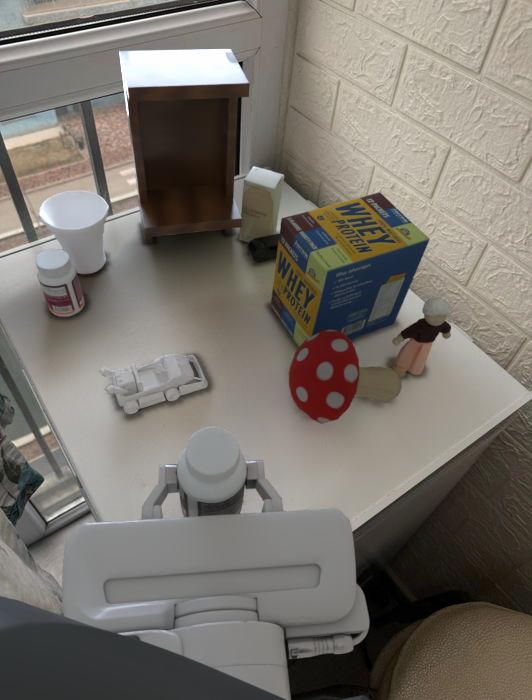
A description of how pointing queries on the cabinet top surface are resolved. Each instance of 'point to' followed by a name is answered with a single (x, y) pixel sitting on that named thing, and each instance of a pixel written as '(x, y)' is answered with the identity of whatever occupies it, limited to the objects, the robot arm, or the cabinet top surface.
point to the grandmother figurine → (422, 337)
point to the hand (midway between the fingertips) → (211, 465)
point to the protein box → (345, 267)
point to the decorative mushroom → (335, 377)
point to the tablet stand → (263, 248)
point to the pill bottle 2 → (211, 474)
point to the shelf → (184, 137)
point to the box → (260, 203)
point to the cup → (78, 227)
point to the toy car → (154, 381)
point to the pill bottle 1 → (59, 282)
